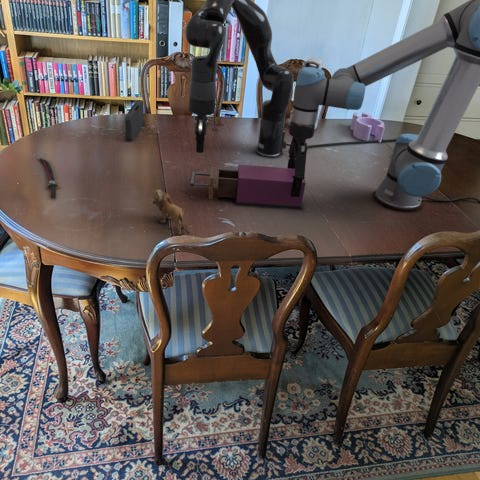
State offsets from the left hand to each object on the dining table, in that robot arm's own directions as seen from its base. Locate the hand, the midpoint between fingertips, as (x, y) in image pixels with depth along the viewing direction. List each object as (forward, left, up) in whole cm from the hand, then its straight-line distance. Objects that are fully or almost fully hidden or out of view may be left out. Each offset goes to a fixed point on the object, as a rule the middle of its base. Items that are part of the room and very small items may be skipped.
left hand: (199, 151), depth 143 cm
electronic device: (-76, -38, -15) cm, 86 cm away
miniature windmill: (-36, -54, -15) cm, 67 cm away
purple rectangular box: (-19, +12, -15) cm, 27 cm away
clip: (-100, -21, -15) cm, 103 cm away
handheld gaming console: (-3, -58, -15) cm, 60 cm away
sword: (+39, -30, -15) cm, 51 cm away
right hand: (-26, +16, -10) cm, 32 cm away
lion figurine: (+17, +14, -15) cm, 26 cm away
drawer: (-9, +5, -14) cm, 17 cm away
